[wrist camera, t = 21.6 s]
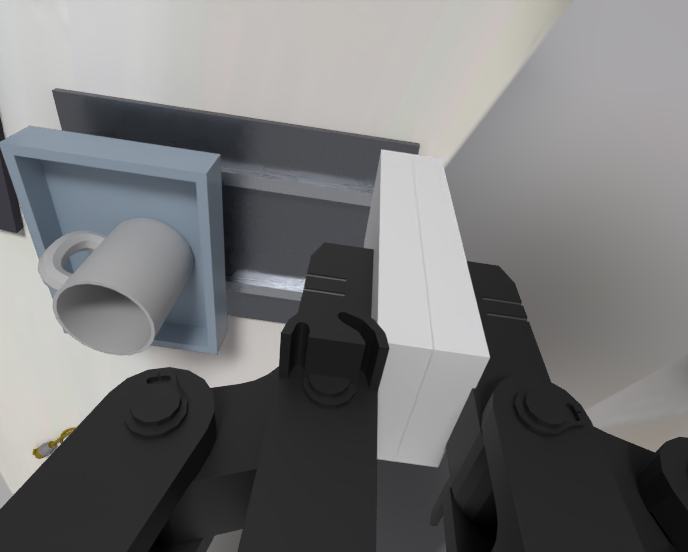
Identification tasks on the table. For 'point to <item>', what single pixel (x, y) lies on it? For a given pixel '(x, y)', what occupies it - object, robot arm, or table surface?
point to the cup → (118, 283)
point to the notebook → (8, 197)
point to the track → (257, 187)
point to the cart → (129, 211)
